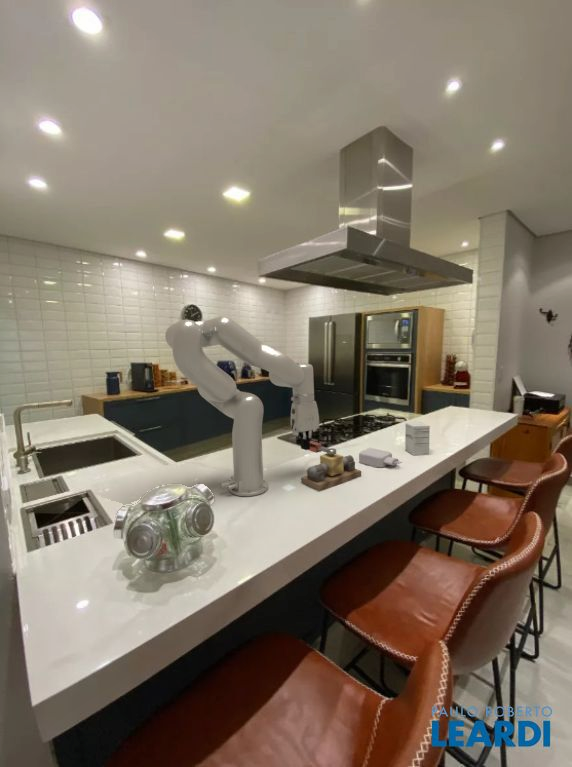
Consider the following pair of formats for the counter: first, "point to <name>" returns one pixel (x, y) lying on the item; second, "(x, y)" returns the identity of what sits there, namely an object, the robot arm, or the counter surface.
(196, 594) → the counter surface
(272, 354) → the robot arm
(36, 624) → the counter surface
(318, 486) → the pipe board
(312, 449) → the valve lever
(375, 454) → the charger
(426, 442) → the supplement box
